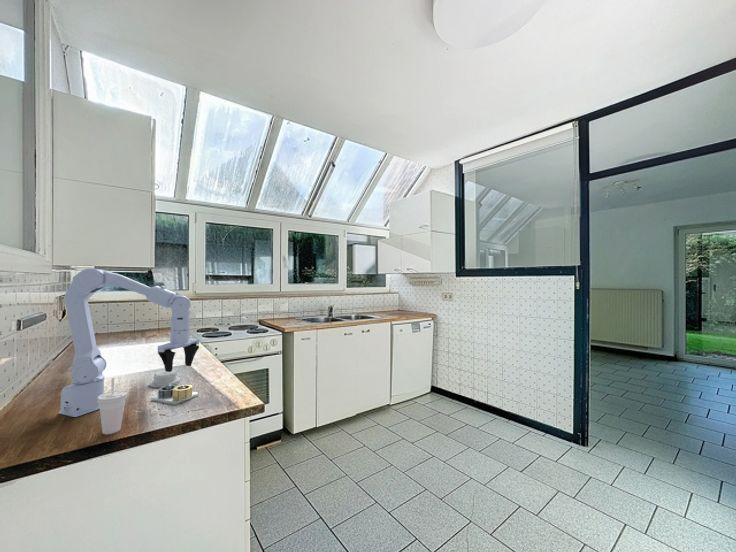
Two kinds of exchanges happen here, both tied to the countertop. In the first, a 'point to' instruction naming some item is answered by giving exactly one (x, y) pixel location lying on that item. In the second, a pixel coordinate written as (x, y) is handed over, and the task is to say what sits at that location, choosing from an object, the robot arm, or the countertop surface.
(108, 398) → the smoothie
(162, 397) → the piston block
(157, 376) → the mechanical component
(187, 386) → the brass ring
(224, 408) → the countertop surface
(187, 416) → the countertop surface
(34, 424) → the countertop surface
